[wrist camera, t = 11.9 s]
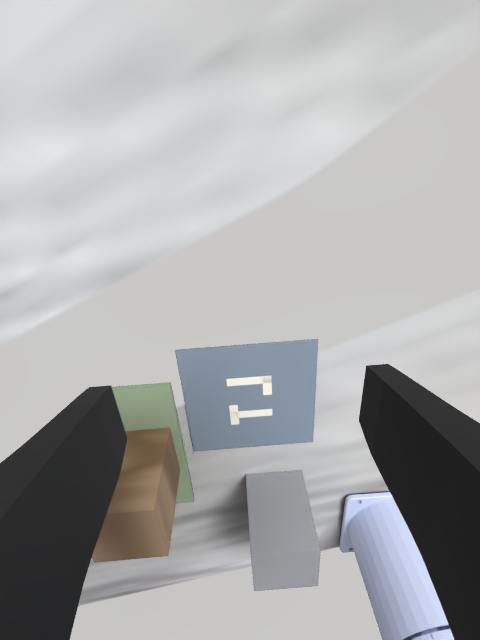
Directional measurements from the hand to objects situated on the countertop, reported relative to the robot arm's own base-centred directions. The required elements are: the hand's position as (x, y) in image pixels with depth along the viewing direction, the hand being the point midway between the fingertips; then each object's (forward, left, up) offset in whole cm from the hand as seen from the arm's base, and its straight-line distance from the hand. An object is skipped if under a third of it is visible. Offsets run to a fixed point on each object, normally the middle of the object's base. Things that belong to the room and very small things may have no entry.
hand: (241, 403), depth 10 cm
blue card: (0, +9, -10) cm, 14 cm away
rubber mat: (+8, +13, -10) cm, 18 cm away
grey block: (-2, +19, -10) cm, 22 cm away
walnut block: (+8, +13, -10) cm, 18 cm away
